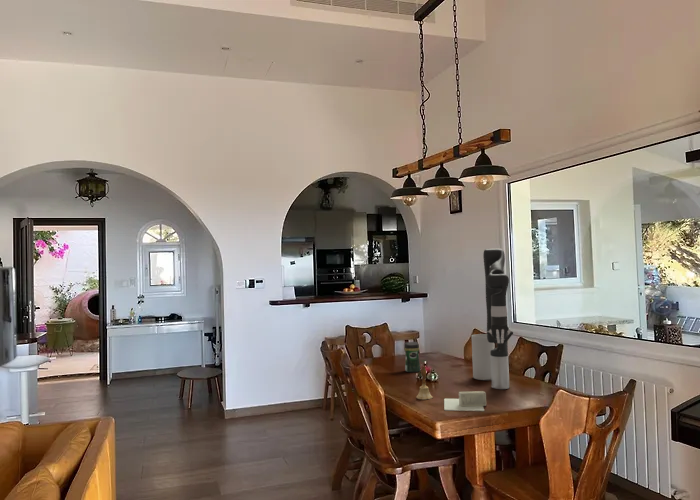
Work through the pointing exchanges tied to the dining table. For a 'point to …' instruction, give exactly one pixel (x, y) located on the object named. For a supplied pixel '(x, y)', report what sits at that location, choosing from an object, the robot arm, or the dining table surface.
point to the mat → (454, 406)
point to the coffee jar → (412, 357)
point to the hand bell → (424, 387)
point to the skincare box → (472, 398)
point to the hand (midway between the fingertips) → (500, 350)
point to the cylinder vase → (481, 357)
